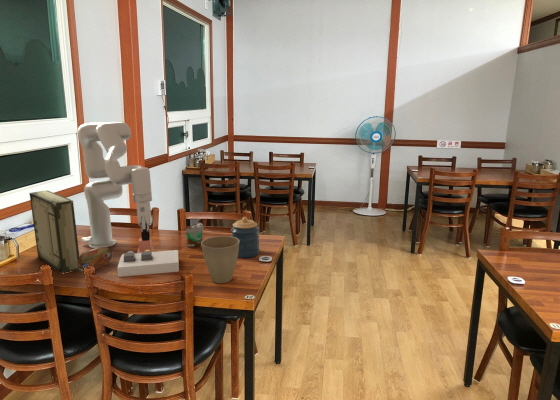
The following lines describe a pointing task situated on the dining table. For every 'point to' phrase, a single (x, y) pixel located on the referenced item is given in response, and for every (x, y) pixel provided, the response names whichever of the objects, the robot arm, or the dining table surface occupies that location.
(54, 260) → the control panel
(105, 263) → the tin
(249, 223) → the canister
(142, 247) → the cap
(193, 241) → the food container
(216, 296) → the dining table surface
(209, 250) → the plant pot
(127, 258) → the block
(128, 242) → the dining table surface
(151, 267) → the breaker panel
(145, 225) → the robot arm
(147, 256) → the tagged breaker button
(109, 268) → the dining table surface
